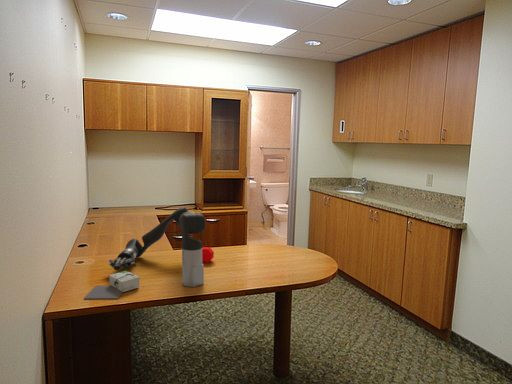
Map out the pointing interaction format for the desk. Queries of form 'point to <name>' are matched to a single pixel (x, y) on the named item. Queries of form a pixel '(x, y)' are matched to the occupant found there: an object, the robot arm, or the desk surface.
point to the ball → (207, 254)
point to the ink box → (124, 281)
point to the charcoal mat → (104, 293)
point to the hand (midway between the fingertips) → (116, 268)
